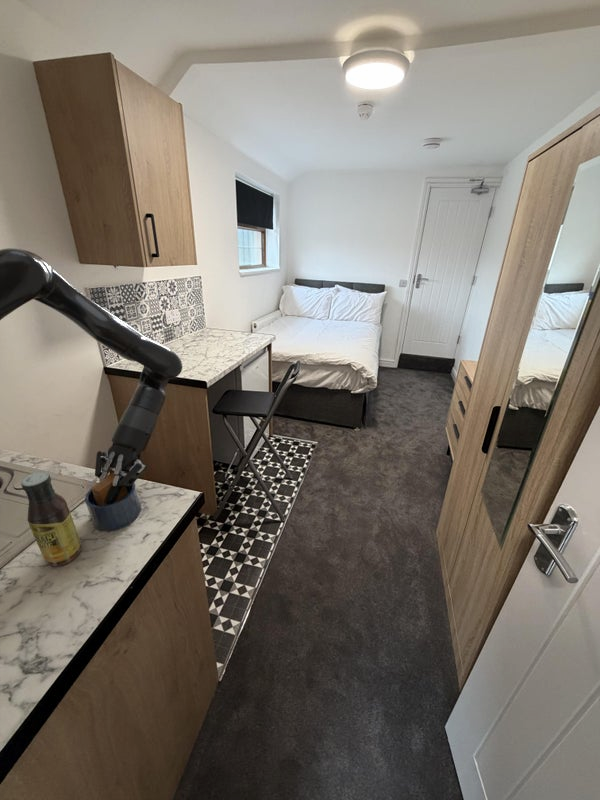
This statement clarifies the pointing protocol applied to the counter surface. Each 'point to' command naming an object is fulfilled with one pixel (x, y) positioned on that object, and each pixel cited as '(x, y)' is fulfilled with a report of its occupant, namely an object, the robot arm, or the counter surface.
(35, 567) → the counter surface
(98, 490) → the wooden toy block
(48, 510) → the sauce bottle
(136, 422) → the robot arm
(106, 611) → the counter surface
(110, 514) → the pot
